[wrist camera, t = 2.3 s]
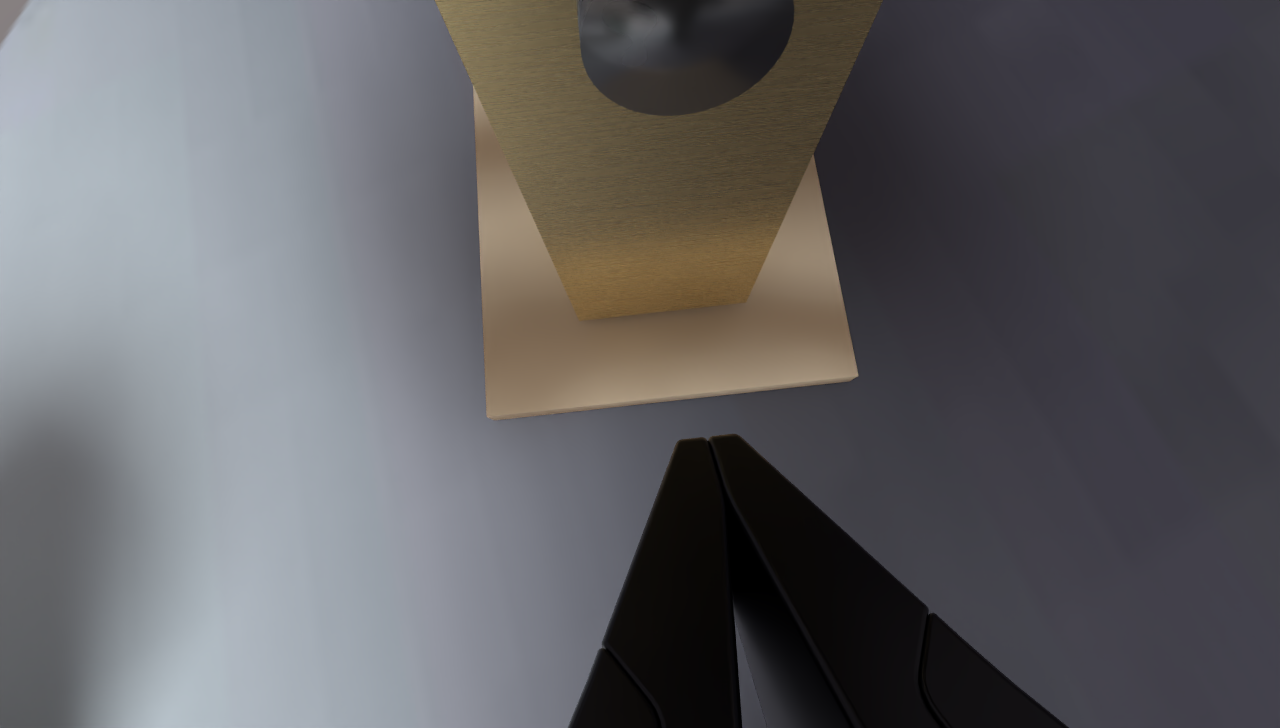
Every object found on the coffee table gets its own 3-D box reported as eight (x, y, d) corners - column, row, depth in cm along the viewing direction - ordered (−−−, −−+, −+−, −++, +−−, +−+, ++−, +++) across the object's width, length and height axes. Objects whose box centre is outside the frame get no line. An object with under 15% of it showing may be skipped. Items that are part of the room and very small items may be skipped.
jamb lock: (849, 381, 17) (1051, 259, 8) (494, 420, 17) (323, 340, 8) (764, -45, 21) (840, -434, 12) (475, -12, 21) (344, -375, 12)
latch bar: (752, 341, 16) (1243, -473, 3) (582, 359, 16) (192, -345, 3) (722, 154, 18) (937, -992, 4) (566, 172, 18) (262, -904, 4)
